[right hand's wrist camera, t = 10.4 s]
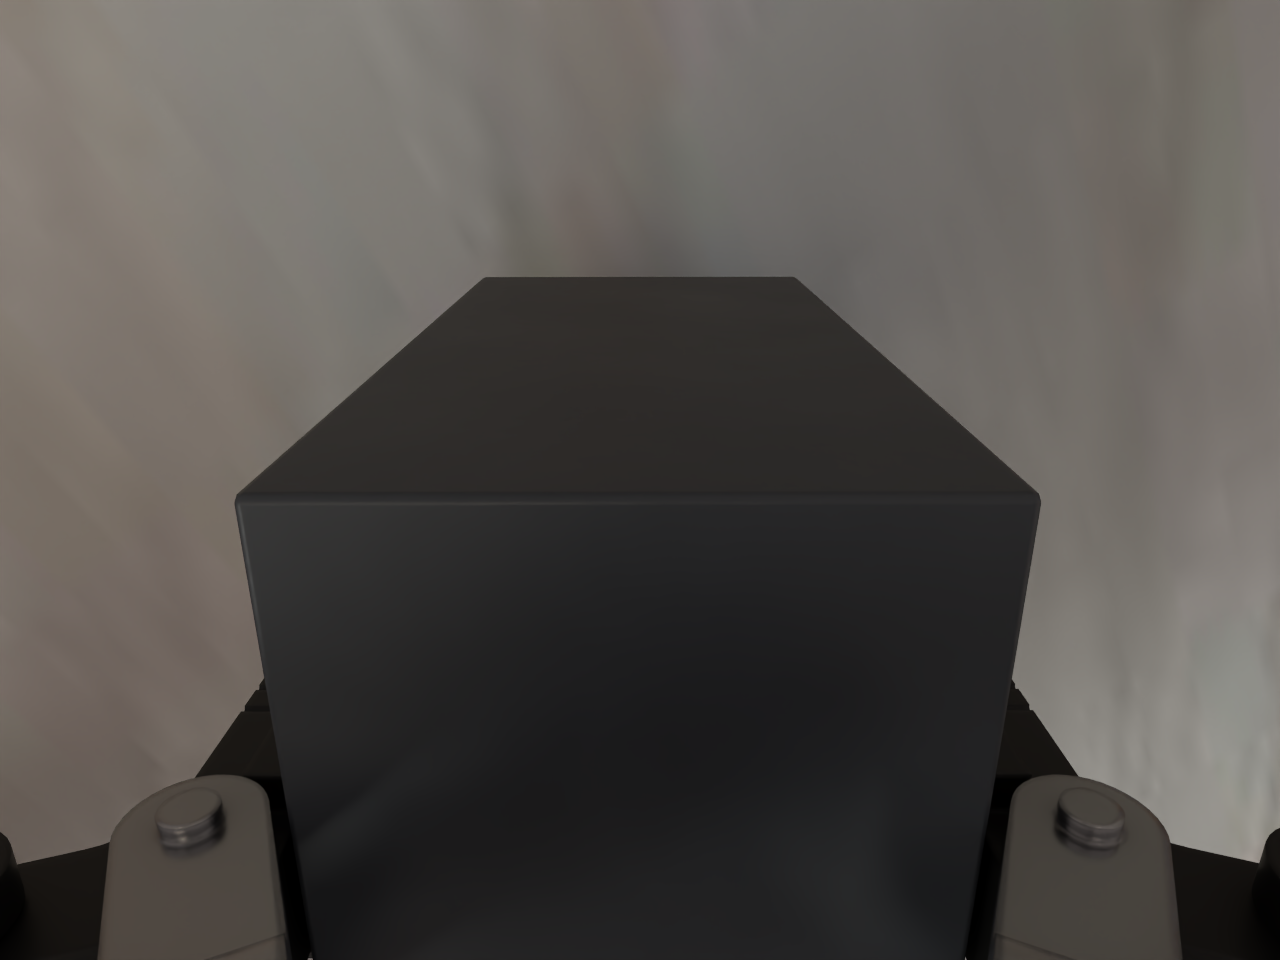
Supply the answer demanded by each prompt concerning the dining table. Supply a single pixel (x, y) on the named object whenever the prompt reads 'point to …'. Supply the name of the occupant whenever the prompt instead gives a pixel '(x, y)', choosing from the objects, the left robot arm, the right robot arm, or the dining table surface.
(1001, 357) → the dining table surface
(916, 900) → the box
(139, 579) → the dining table surface
